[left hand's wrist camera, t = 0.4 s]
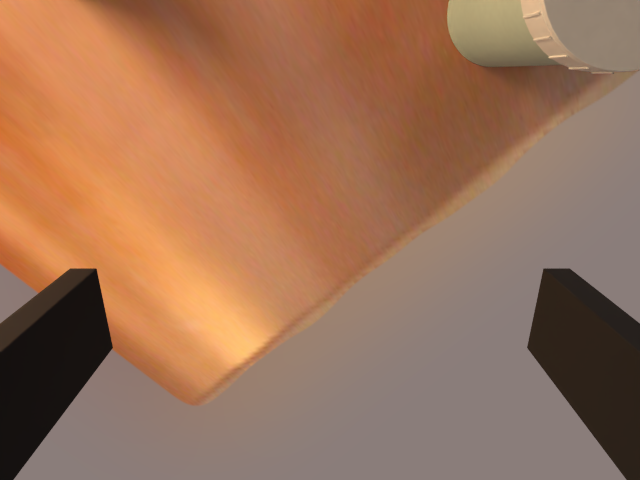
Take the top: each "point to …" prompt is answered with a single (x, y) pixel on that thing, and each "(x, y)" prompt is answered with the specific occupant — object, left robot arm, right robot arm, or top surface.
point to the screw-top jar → (493, 33)
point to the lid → (587, 33)
